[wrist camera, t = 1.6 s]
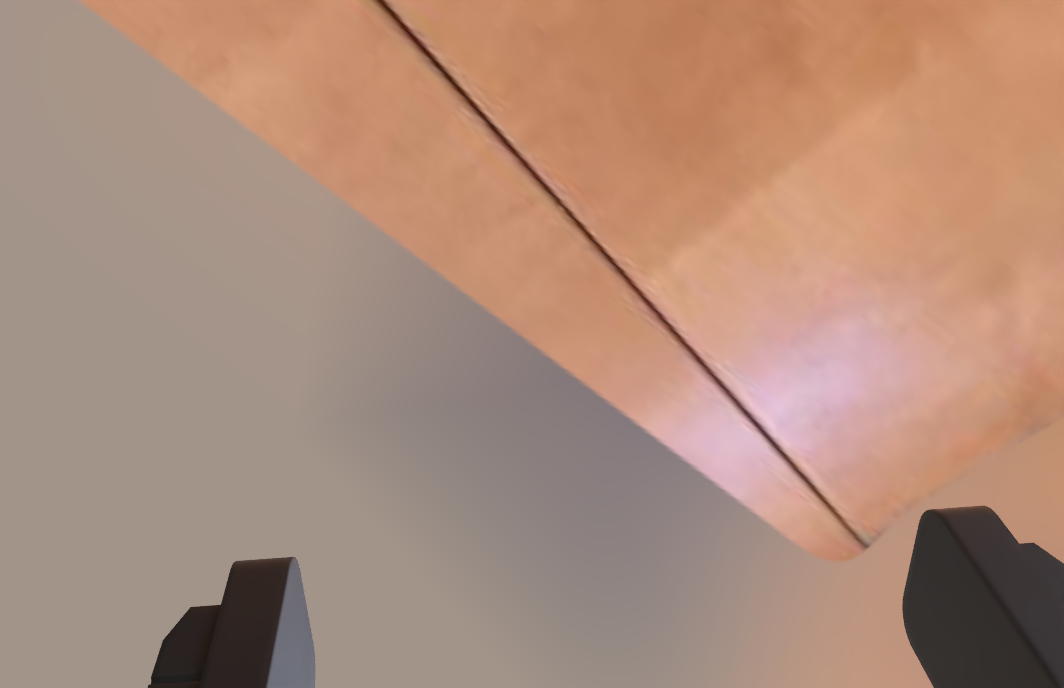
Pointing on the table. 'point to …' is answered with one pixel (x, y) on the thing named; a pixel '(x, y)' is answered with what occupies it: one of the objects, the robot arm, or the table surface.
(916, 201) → the table surface
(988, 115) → the table surface
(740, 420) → the table surface
